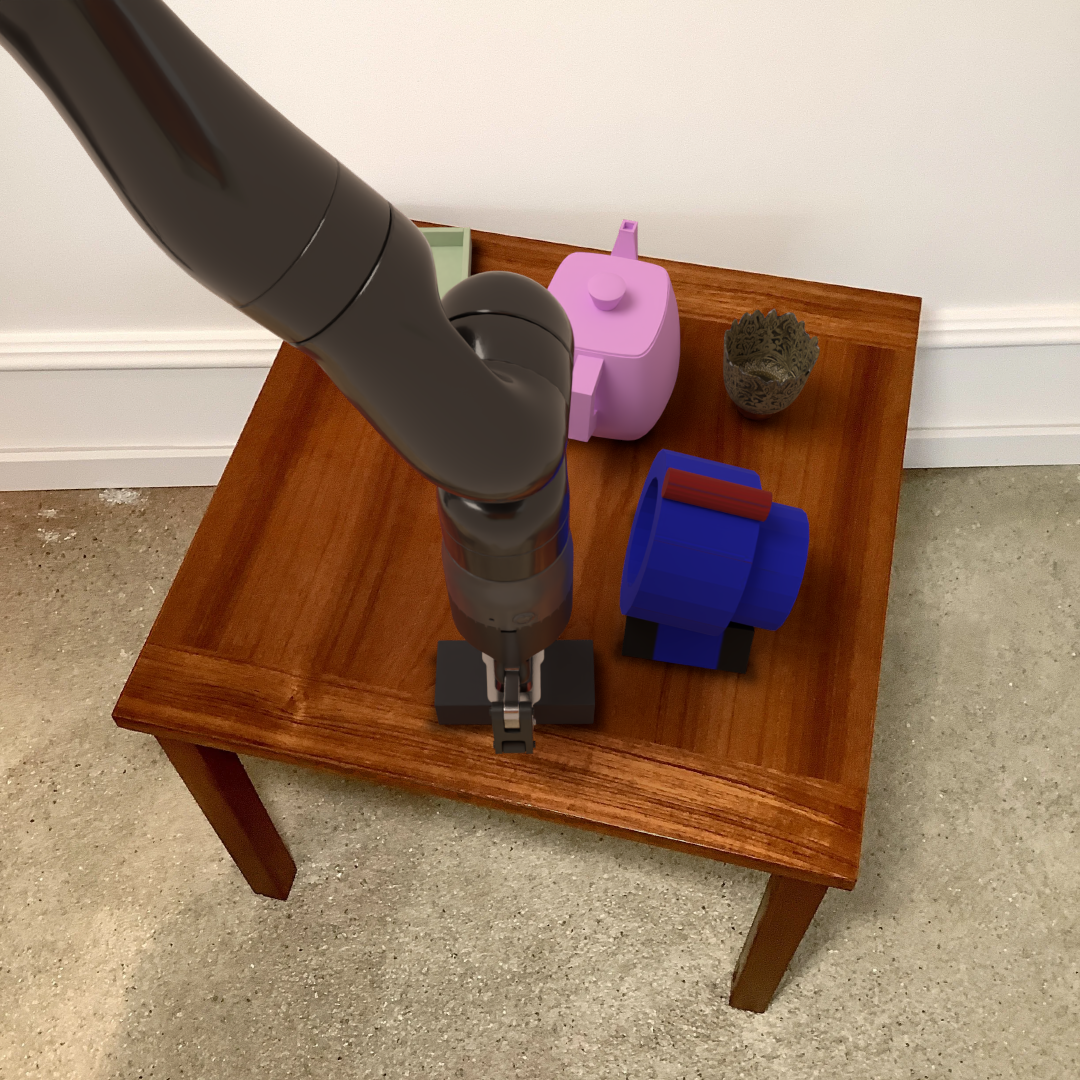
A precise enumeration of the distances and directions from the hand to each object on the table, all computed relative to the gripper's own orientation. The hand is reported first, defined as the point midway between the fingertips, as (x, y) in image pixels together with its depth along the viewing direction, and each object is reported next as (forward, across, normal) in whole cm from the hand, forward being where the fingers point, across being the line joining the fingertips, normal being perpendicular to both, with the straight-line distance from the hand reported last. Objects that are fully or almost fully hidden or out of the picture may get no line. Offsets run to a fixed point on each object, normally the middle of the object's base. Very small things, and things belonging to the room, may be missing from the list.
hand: (517, 683), depth 77 cm
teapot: (+2, -28, +7) cm, 29 cm away
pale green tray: (+2, -38, -10) cm, 39 cm away
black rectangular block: (+2, 0, 0) cm, 2 cm away
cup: (+2, -26, +20) cm, 33 cm away
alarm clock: (+2, -8, +14) cm, 16 cm away
